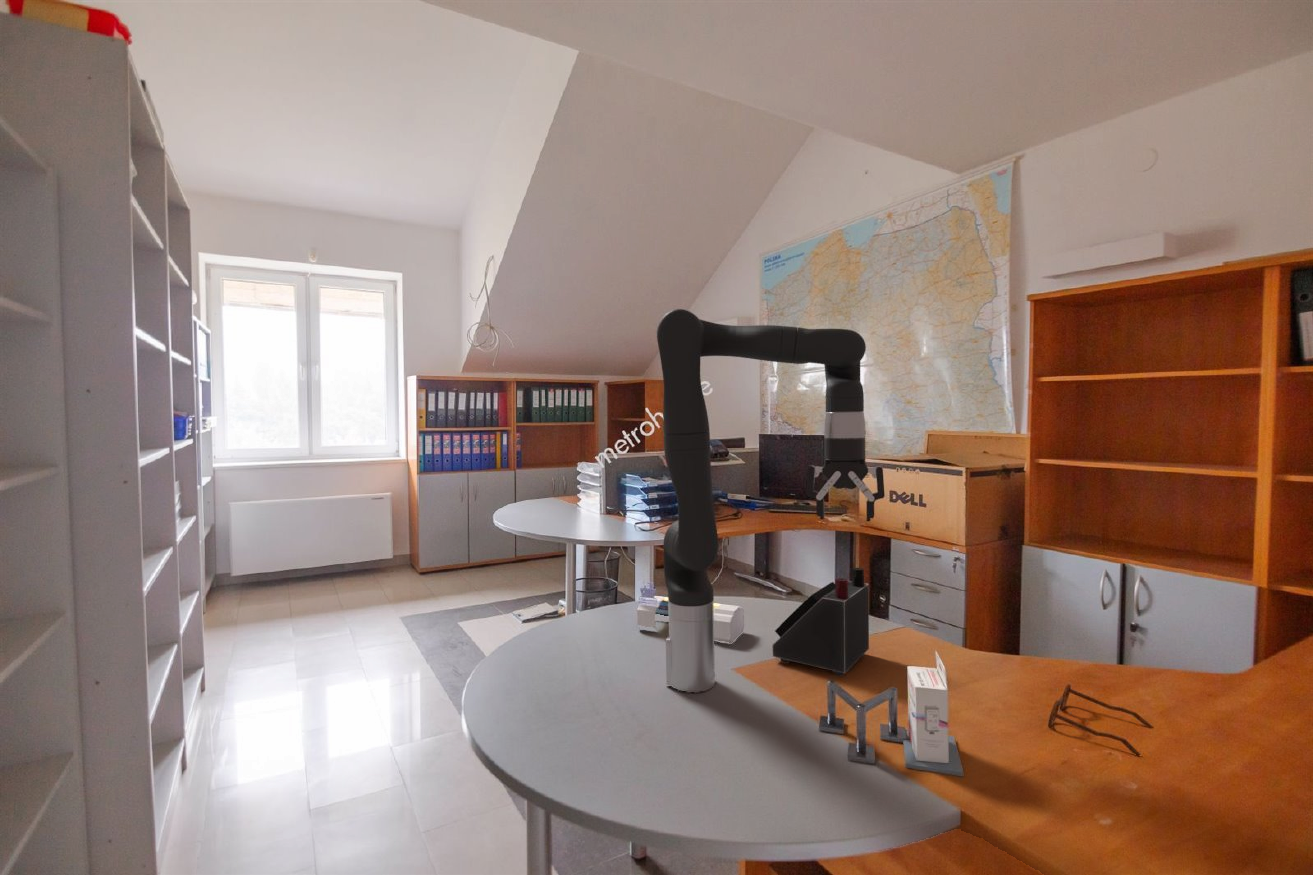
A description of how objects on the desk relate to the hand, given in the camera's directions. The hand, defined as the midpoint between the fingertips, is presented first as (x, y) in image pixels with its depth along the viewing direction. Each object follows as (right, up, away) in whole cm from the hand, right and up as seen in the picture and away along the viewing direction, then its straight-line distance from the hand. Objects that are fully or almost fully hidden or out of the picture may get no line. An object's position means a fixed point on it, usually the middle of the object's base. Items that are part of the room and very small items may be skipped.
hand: (845, 519), depth 119 cm
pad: (+7, -35, -20) cm, 41 cm away
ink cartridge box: (+7, -34, -20) cm, 40 cm away
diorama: (-28, -34, +38) cm, 58 cm away
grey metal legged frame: (-2, -35, -17) cm, 39 cm away
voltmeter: (0, -34, +19) cm, 39 cm away
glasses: (+40, -35, -13) cm, 54 cm away
